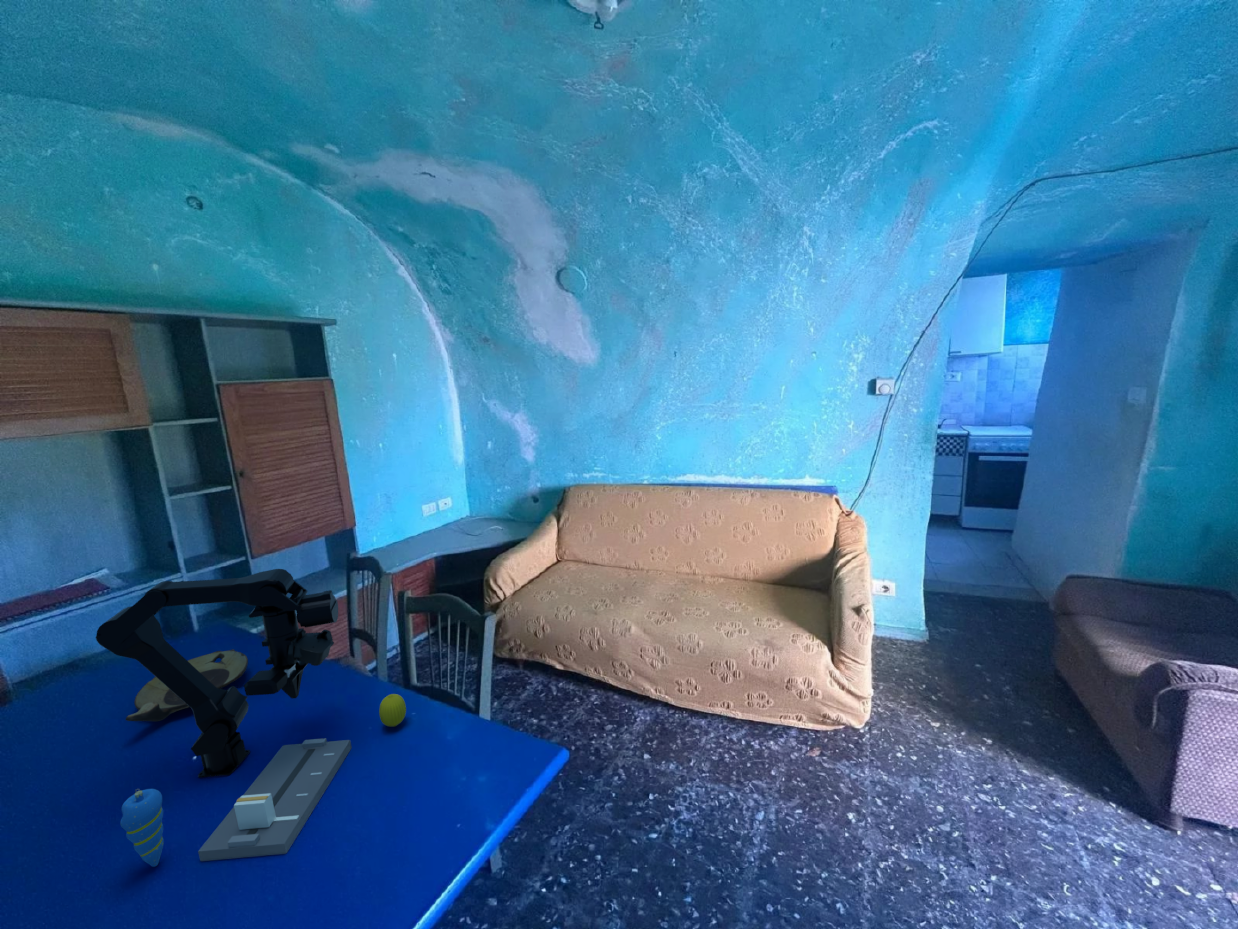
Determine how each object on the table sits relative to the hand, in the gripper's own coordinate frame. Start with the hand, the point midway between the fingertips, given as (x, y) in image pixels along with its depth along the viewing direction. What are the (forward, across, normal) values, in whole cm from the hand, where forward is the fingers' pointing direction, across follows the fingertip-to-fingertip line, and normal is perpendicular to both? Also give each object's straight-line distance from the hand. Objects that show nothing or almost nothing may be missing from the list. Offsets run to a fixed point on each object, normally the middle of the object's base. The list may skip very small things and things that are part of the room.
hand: (294, 697), depth 107 cm
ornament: (+12, -26, +10) cm, 30 cm away
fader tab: (+10, -21, -4) cm, 24 cm away
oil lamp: (+12, +20, +40) cm, 47 cm away
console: (+12, -14, -4) cm, 19 cm away
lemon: (+12, +5, -18) cm, 22 cm away
